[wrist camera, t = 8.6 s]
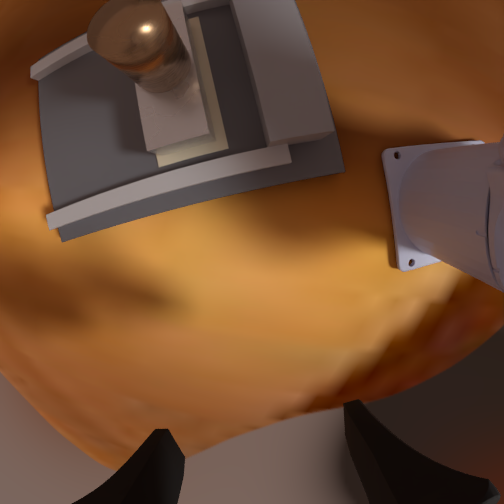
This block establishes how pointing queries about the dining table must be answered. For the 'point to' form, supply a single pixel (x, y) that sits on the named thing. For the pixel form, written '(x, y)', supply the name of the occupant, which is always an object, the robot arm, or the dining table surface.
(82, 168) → the base
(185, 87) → the press handle
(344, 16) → the dining table surface
